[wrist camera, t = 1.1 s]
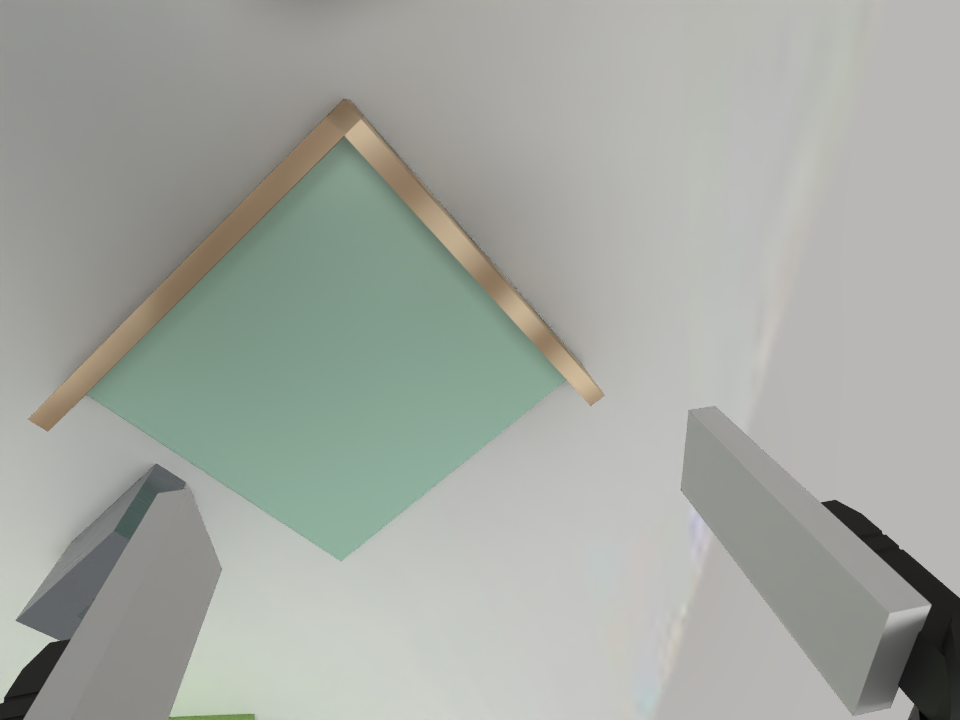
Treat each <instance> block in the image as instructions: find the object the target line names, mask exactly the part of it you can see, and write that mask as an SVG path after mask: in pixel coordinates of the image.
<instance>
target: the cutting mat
mask: <svg viewBox="0 0 960 720" xmlns="http://www.w3.org/2000/svg"><path fill="white" fill-rule="evenodd" d="M367 121H368V120H367ZM368 122H369V121H368ZM369 123H370V122H369ZM370 124H371V123H370ZM375 130H376V129H375ZM376 131H377V130H376ZM377 132H378V131H377ZM382 138H383V137H382ZM383 139H384V138H383ZM384 140H385V139H384ZM389 146H390V145H389ZM390 147H391V146H390ZM391 148H392V147H391ZM396 154H397V153H396ZM397 155H398V154H397ZM398 156H399V155H398ZM403 162H404V161H403ZM404 163H405V162H404ZM405 164H406V163H405ZM410 170H411V169H410ZM411 171H412V170H411ZM412 172H413V171H412ZM417 178H418V177H417ZM418 179H419V178H418ZM419 180H420V179H419ZM425 187H426V186H425ZM426 188H427V187H426ZM432 195H433V194H432ZM433 196H434V195H433ZM434 197H435V196H434ZM439 203H440V202H439ZM440 204H441V203H440ZM441 205H442V204H441ZM446 211H447V210H446ZM447 212H448V211H447ZM448 213H449V212H448ZM453 219H454V218H453ZM454 220H455V219H454ZM455 221H456V220H455ZM460 227H461V226H460ZM461 228H462V227H461ZM462 229H463V228H462ZM467 235H468V234H467ZM468 236H469V235H468ZM469 237H470V236H469ZM475 244H476V243H475ZM476 245H477V244H476ZM482 252H483V251H482ZM483 253H484V252H483ZM484 254H485V253H484ZM489 260H490V259H489ZM490 261H491V260H490ZM491 262H492V261H491ZM496 268H497V267H496ZM497 269H498V268H497ZM498 270H499V269H498ZM503 276H504V275H503ZM504 277H505V276H504ZM510 284H511V283H510ZM511 285H512V284H511ZM518 293H519V292H518ZM525 301H526V300H525ZM526 302H527V301H526ZM532 309H533V308H532ZM533 310H534V309H533ZM539 317H540V316H539ZM540 318H541V317H540ZM546 325H547V324H546ZM547 326H548V325H547ZM553 333H554V332H553ZM560 341H561V340H560ZM561 342H562V341H561ZM568 350H569V349H568ZM575 358H576V357H575ZM565 380H566V378H565V377H564V376H563V375H562V374H561V373H560V372H559V371H558V370H557V368H556V367H555V366H554V365H553V364H552V363H551V362H550V361H549V360H548V359H547V357H546V356H545V355H544V354H543V353H542V352H541V351H540V350H539V349H538V348H537V346H536V345H535V344H534V343H533V342H532V341H531V340H530V339H529V338H528V337H527V336H526V334H525V333H524V332H523V331H522V330H521V329H520V328H519V327H518V326H517V325H516V323H515V322H514V321H513V320H512V319H511V318H510V317H509V316H508V315H507V314H506V312H505V311H504V310H503V309H502V308H501V307H500V306H499V305H498V304H497V303H496V302H495V300H494V299H493V298H492V297H491V296H490V295H489V294H488V293H487V292H486V291H485V289H484V288H483V287H482V286H481V285H480V284H479V283H478V282H477V281H476V280H475V278H474V277H473V276H472V275H471V274H470V273H469V272H468V271H467V270H466V269H465V268H464V266H463V265H462V264H461V263H460V262H459V261H458V260H457V259H456V258H455V257H454V255H453V254H452V253H451V252H450V251H449V250H448V249H447V248H446V247H445V246H444V244H443V243H442V242H441V241H440V240H439V239H438V238H437V237H436V236H435V235H434V233H433V232H432V231H431V230H430V229H429V228H428V227H427V226H426V225H425V224H424V223H423V221H422V220H421V219H420V218H419V217H418V216H417V215H416V214H415V213H414V212H413V210H412V209H411V208H410V207H409V206H408V205H407V204H406V203H405V202H404V201H403V199H402V198H401V197H400V196H399V195H398V194H397V193H396V192H395V191H394V190H393V189H392V187H391V186H390V185H389V184H388V183H387V182H386V181H385V180H384V179H383V178H382V176H381V175H380V174H379V173H378V172H377V171H376V170H375V169H374V168H373V167H372V165H371V164H370V163H369V162H368V161H367V160H366V159H365V158H364V157H363V156H362V155H361V153H360V152H359V151H358V150H357V149H356V148H355V147H354V146H353V145H352V144H351V142H350V141H349V140H348V139H347V138H346V137H344V138H343V139H342V140H341V141H340V142H339V143H338V144H337V145H336V146H335V147H334V148H333V149H332V150H331V151H330V152H329V153H328V154H327V155H326V156H325V157H324V158H323V159H322V160H321V161H320V162H319V163H318V164H317V165H316V166H315V167H314V168H313V169H312V170H311V171H310V172H309V173H308V174H307V175H306V176H305V177H304V178H303V179H302V180H301V181H300V182H299V183H298V184H297V185H296V186H295V187H294V188H293V189H292V190H291V191H290V192H289V193H288V194H287V195H286V196H285V197H284V198H283V199H282V200H281V201H280V202H279V203H278V204H277V205H276V206H275V207H274V208H273V209H271V210H270V211H269V212H268V213H267V214H266V215H265V216H264V217H263V218H262V219H261V220H260V221H259V222H258V223H257V224H256V225H255V226H254V227H253V228H252V229H251V230H250V231H249V232H248V233H247V234H246V235H245V236H244V237H243V238H242V239H241V240H240V241H239V242H238V243H237V244H236V245H235V246H234V247H233V248H232V249H231V250H230V251H229V252H228V253H227V254H226V255H225V256H224V257H223V258H222V259H221V260H220V261H219V262H218V263H217V264H216V265H215V266H214V267H213V268H212V269H211V270H210V271H209V272H208V273H207V274H206V275H205V276H204V277H203V278H202V279H201V280H200V281H199V282H198V283H197V284H196V285H195V286H194V287H193V288H192V289H191V290H190V291H189V292H188V293H187V294H186V295H185V296H184V297H183V298H182V299H181V300H180V301H179V302H178V303H177V304H176V305H175V306H174V307H173V308H172V309H171V310H170V311H169V312H168V313H167V314H166V315H165V316H164V317H163V318H162V319H161V320H160V321H159V322H158V323H157V324H156V325H155V326H154V327H153V328H152V329H151V330H150V331H149V332H148V333H147V334H146V335H145V336H144V337H143V338H142V339H141V340H140V341H139V342H138V343H137V344H136V345H135V346H134V347H133V348H132V349H131V350H130V351H129V352H128V353H127V354H126V355H125V356H124V357H123V358H122V359H121V360H120V361H119V362H118V363H117V364H116V365H115V366H114V367H113V368H112V369H111V370H110V371H109V372H108V373H107V374H106V375H105V376H104V377H103V378H102V379H101V380H100V381H99V382H98V383H97V384H96V385H95V386H94V387H93V388H92V389H91V390H90V391H89V392H88V393H87V395H88V396H90V397H91V398H93V399H94V400H96V401H97V402H99V403H100V404H102V405H103V406H105V407H106V408H108V409H109V410H111V411H113V412H114V413H116V414H117V415H119V416H120V417H122V418H123V419H125V420H126V421H128V422H129V423H131V424H132V425H134V426H135V427H137V428H138V429H140V430H142V431H143V432H145V433H146V434H148V435H149V436H151V437H152V438H154V439H155V440H157V441H158V442H160V443H161V444H163V445H164V446H166V447H167V448H169V449H170V450H172V451H174V452H175V453H177V454H178V455H180V456H181V457H183V458H184V459H186V460H187V461H189V462H190V463H192V464H193V465H195V466H196V467H198V468H199V469H201V470H203V471H204V472H206V473H207V474H209V475H210V476H212V477H213V478H215V479H216V480H218V481H219V482H221V483H222V484H224V485H225V486H227V487H228V488H230V489H231V490H233V491H235V492H236V493H238V494H239V495H241V496H242V497H244V498H245V499H247V500H248V501H250V502H251V503H253V504H254V505H256V506H257V507H259V508H260V509H262V510H264V511H265V512H267V513H268V514H270V515H271V516H273V517H274V518H276V519H277V520H279V521H280V522H282V523H283V524H285V525H286V526H288V527H289V528H291V529H292V530H294V531H296V532H297V533H299V534H300V535H302V536H303V537H305V538H306V539H308V540H309V541H311V542H312V543H314V544H315V545H317V546H318V547H320V548H321V549H323V550H324V551H326V552H328V553H329V554H331V555H332V556H334V557H335V558H337V559H338V560H340V561H342V560H343V559H345V558H346V557H347V556H348V555H350V554H351V553H352V552H353V551H355V550H356V549H357V548H358V547H360V546H361V545H362V544H363V543H364V542H366V541H367V540H368V539H369V538H371V537H372V536H373V535H374V534H376V533H377V532H378V531H379V530H381V529H382V528H383V527H384V526H386V525H387V524H388V523H389V522H390V521H392V520H393V519H394V518H395V517H397V516H398V515H399V514H400V513H402V512H403V511H404V510H405V509H407V508H408V507H409V506H410V505H412V504H413V503H414V502H415V501H416V500H418V499H419V498H420V497H421V496H423V495H424V494H425V493H426V492H428V491H429V490H430V489H431V488H433V487H434V486H435V485H436V484H438V483H439V482H440V481H441V480H442V479H444V478H445V477H446V476H447V475H449V474H450V473H451V472H452V471H454V470H455V469H456V468H457V467H459V466H460V465H461V464H462V463H464V462H465V461H466V460H467V459H469V458H470V457H471V456H472V455H473V454H475V453H476V452H477V451H478V450H480V449H481V448H482V447H483V446H485V445H486V444H487V443H488V442H490V441H491V440H492V439H493V438H495V437H496V436H497V435H498V434H499V433H501V432H502V431H503V430H504V429H506V428H507V427H508V426H509V425H511V424H512V423H513V422H514V421H516V420H517V419H518V418H519V417H521V416H522V415H523V414H524V413H525V412H527V411H528V410H529V409H530V408H532V407H533V406H534V405H535V404H537V403H538V402H539V401H540V400H542V399H543V398H544V397H545V396H547V395H548V394H549V393H550V392H551V391H553V390H554V389H555V388H556V387H558V386H559V385H560V384H561V383H563V382H564V381H565Z"/></svg>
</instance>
